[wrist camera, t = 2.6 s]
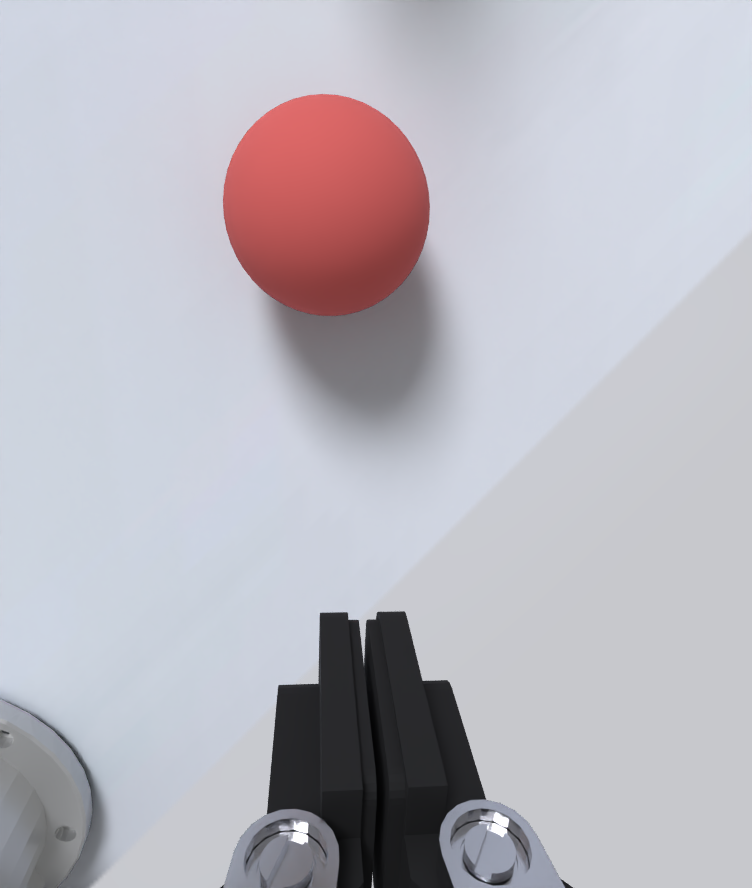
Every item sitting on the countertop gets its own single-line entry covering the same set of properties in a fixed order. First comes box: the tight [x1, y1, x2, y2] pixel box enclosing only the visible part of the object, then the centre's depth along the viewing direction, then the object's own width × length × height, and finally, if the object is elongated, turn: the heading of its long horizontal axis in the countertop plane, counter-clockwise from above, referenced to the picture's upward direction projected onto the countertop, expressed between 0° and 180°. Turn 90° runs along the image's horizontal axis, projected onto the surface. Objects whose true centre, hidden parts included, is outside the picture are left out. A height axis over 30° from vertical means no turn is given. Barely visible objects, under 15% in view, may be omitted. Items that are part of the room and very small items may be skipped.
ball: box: [223, 94, 430, 316], centre depth 17 cm, size 6×6×6 cm
